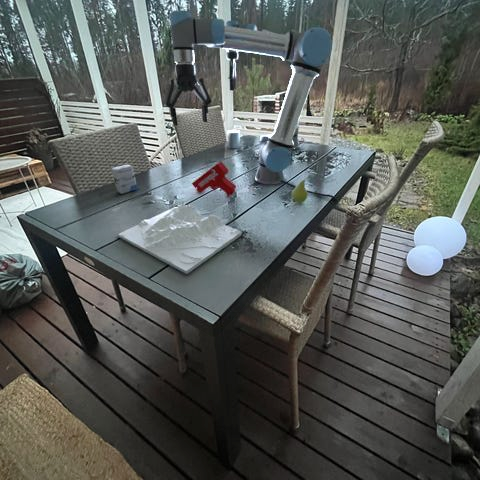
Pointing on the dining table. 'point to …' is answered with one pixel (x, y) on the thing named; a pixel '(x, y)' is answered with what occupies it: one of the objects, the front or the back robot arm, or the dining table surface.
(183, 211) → the relief map
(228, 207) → the dining table surface
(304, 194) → the fruit
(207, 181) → the toy gun
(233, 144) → the can
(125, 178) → the ink box
